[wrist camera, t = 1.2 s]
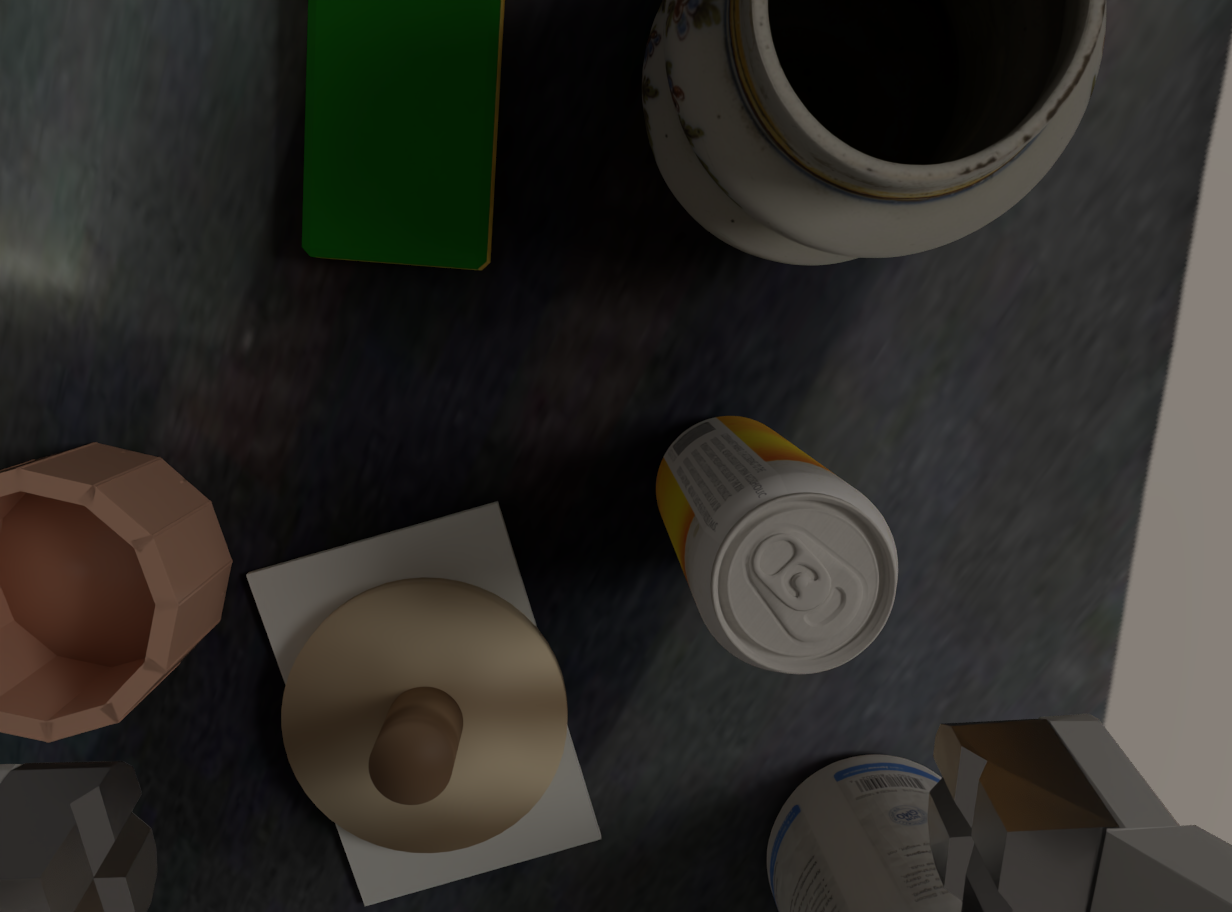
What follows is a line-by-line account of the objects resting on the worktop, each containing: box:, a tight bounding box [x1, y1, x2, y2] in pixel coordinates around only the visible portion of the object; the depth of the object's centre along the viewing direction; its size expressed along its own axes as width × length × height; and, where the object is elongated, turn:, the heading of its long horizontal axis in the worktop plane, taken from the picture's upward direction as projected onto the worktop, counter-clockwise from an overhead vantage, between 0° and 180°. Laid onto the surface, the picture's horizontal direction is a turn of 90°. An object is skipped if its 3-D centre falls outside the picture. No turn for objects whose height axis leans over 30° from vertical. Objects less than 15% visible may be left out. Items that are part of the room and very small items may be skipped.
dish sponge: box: [302, 0, 505, 270], centre depth 40 cm, size 7×14×2 cm, turn 175°
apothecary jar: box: [642, 0, 1106, 265], centre depth 32 cm, size 12×12×18 cm
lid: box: [281, 577, 567, 853], centre depth 42 cm, size 12×12×5 cm
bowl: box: [0, 442, 233, 743], centre depth 40 cm, size 10×10×6 cm
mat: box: [246, 501, 601, 906], centre depth 44 cm, size 16×11×1 cm
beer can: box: [656, 416, 898, 674], centre depth 36 cm, size 6×6×15 cm
